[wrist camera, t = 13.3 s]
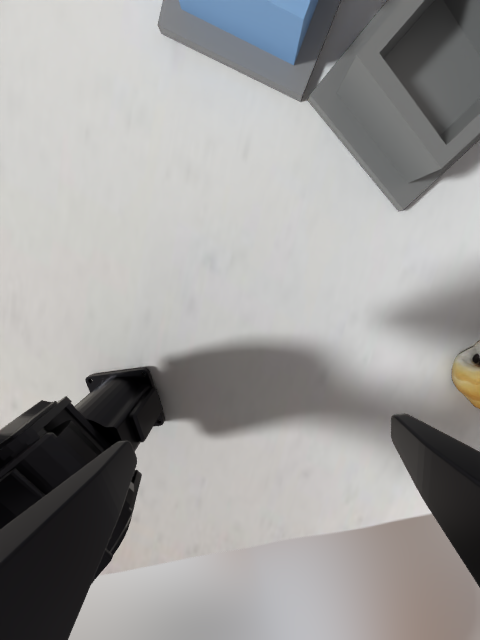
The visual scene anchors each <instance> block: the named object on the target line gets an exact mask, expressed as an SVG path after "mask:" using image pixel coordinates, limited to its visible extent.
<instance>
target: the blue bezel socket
mask: <svg viewBox="0 0 480 640" xmlns="http://www.w3.org/2000/svg"><path fill="white" fill-rule="evenodd" d="M340 1H341V0H163V3H162V7H161V12H160V16H159V21H158V27H159V29H160V32H161V34H163V35H165V36H168V37H170V38H172V39H174V40H176V41H178V42H180V43H182V44H184V45H186V46H188V47H190V48H192V49H194V50H196V51H198V52H200V53H202V54H204V55H206V56H208V57H210V58H212V59H214V60H216V61H218V62H221V63H223V64H225V65H227V66H229V67H231V68H233V69H235V70H237V71H239V72H241V73H243V74H245V75H247V76H249V77H251V78H253V79H255V80H257V81H259V82H261V83H263V84H265V85H267V86H269V87H271V88H274V89H276V90H278V91H280V92H282V93H284V94H286V95H288V96H290V97H292V98H294V99H296V100H298V101H301V99H302V96H303V94H304V91H305V89H306V86H307V84H308V81H309V79H310V76H311V74H312V71H313V69H314V66H315V64H316V61H317V59H318V56H319V54H320V51H321V49H322V46H323V44H324V41H325V39H326V36H327V34H328V31H329V29H330V26H331V24H332V21H333V19H334V16H335V14H336V11H337V9H338V6H339V4H340Z"/></svg>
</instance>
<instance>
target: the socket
mask: <svg viewBox="0 0 480 640" xmlns="http://www.w3.org/2000/svg"><path fill="white" fill-rule="evenodd" d="M308 101H309V103H310V104H311V105H312V106H313V108H314V109H315V110H316V111H317V112H318V114H319V115H320V116H321V117H322V119H323V120H324V121H325V122H326V123H327V125H328V126H329V127H330V128H331V130H332V131H333V132H334V133H335V134H336V136H337V137H338V138H339V139H340V141H341V142H342V143H343V144H344V145H345V147H346V148H347V149H348V150H349V152H350V153H351V154H352V155H353V156H354V158H355V159H356V160H357V161H358V163H359V164H360V165H361V166H362V167H363V169H364V170H365V171H366V172H367V173H368V175H369V176H370V177H371V178H372V180H373V181H374V182H375V183H376V184H377V186H378V187H379V188H380V189H381V191H382V192H383V193H384V194H385V195H386V197H387V198H388V199H389V200H390V202H391V203H392V204H393V205H394V206H395V208H396V209H397V210H398V211H401V210H404V209H405V208H406V207H407V206H408V205H409V204H410V203H411V202H413V201H414V200H415V199H416V198H417V197H418V196H419V195H420V194H421V193H422V192H423V191H424V190H426V189H427V188H428V187H429V186H430V185H431V184H432V183H433V182H434V181H435V180H436V179H437V178H439V177H440V176H441V175H442V174H443V173H444V172H445V171H446V170H447V169H448V168H449V167H450V166H452V165H453V164H454V163H455V162H456V161H457V160H458V159H459V158H460V157H461V156H462V155H463V154H464V153H466V152H467V151H468V150H469V149H470V148H471V147H472V146H473V145H474V144H475V143H476V142H477V141H479V140H480V0H387V2H386V3H385V4H384V5H383V7H382V8H381V9H380V10H379V11H378V13H377V14H376V15H375V16H374V17H373V19H372V20H371V21H370V22H369V24H368V25H367V26H366V27H365V28H364V30H363V31H362V32H361V33H360V34H359V36H358V37H357V38H356V39H355V41H354V42H353V43H352V44H351V45H350V47H349V48H348V49H347V50H346V52H345V53H344V54H343V55H342V56H341V58H340V59H339V60H338V61H337V62H336V64H335V65H334V66H333V67H332V69H331V70H330V71H329V72H328V73H327V75H326V76H325V77H324V78H323V79H322V81H321V82H320V83H319V84H318V86H317V87H316V88H315V89H314V90H313V92H312V93H311V94H310V96H309V99H308Z"/></svg>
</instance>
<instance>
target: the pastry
mask: <svg viewBox="0 0 480 640" xmlns="http://www.w3.org/2000/svg"><path fill="white" fill-rule="evenodd" d="M452 380H453V383H454V384H455V386H456V388H457V389H458V390H459V391H460V392H461V393H463V394H464V396H465V397H466V398H468V399H469V401H470V402H471V403H472V404H473V405H474V406H475V407H477V408H479V409H480V341H478V342H477V343H476V344H475V345H474V346H473V347H472V348H470V349H467V350H465V351H464V352H462V353H460V354H459V355H458V356H457V357H456V358H455V361H454V364H453V367H452Z"/></svg>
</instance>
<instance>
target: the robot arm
mask: <svg viewBox="0 0 480 640" xmlns="http://www.w3.org/2000/svg"><path fill="white" fill-rule="evenodd" d="M142 372H144V373H145V374H146V375H145V374H143V373H142ZM91 379H92V380H93V381H92V380H91ZM86 383H87V386H88V388H89V391H90V393H89V394H88V395H87V396H86V397H85V398H84V399H83V400H81V401H80V402H79V403H78V404H77V405H76V406H75V407H74V406H73V405H72V404H71V403H70V402H72V401H71V400H70V399H69V398H68V397H67V396H66V397H64V398H63V399H61V400H60V401H58V402H56V401H54V402H47V401H40V402H39V403H37V404H36V405H34V406H33V407H32V408H30V409H29V410H27V411H26V412H24V413H23V414H22V415H20V416H19V417H17V418H16V419H15V420H13V421H12V422H10V423H9V424H8V425H6V426H5V427H4V428H2V429H1V430H0V640H68V638H69V636H70V633H71V631H72V628H73V626H74V624H75V621H76V619H77V616H78V614H79V612H80V609H81V607H82V604H83V602H84V600H85V597H86V595H87V593H88V590H89V588H90V585H91V584H92V583H93V581H94V579H96V578H97V576H98V575H99V574H100V573H101V572H102V571H103V569H104V568H105V567H106V566H107V565H108V564H109V562H110V561H111V559H112V557H113V555H114V553H115V552H116V550H117V549H118V547H119V546H120V544H121V542H122V540H123V539H124V537H125V534H126V532H127V530H128V527H129V524H130V521H131V517H132V513H133V509H134V505H135V500H136V496H137V492H138V488H139V484H140V480H141V476H142V474H141V473H140V472H139V471H138V470H135V468H136V464H137V457H136V454H135V450H136V449H137V447H138V445H139V444H140V442H144V441H145V439H146V438H147V436H148V434H149V433H150V431H151V429H152V427H153V426H160V425H162V424H163V423H164V421H165V417H164V414H163V411H162V410H163V408H162V405H161V402H160V399H159V395H158V392H157V389H156V388H155V386H154V383H153V380H152V377H151V374H150V371H149V370H148V369H147V368H137V369H130V370H122V371H115V372H107V373H100V374H92V375H89V376H88V377H87V378H86ZM159 420H161V421H159ZM391 438H392V441H393V444H394V446H395V448H396V449H397V451H398V453H399V455H400V457H401V459H402V461H403V463H404V465H405V467H406V468H407V470H408V472H409V474H410V476H411V478H412V480H413V482H414V484H415V486H416V487H417V489H418V491H419V493H420V495H421V496H422V498H423V500H424V501H425V503H426V505H427V506H428V508H429V509H430V511H431V512H432V514H433V516H434V517H435V518H436V520H437V521H438V523H439V525H440V526H441V528H442V530H443V531H444V532H445V534H446V536H447V537H448V539H449V540H450V542H451V543H452V545H453V547H454V548H455V550H456V551H457V553H458V554H459V556H460V558H461V559H462V561H463V562H464V564H465V565H466V567H467V568H468V570H469V572H470V573H471V575H472V576H473V577H474V579H475V581H476V582H477V584H478V586H479V587H480V452H479V451H477V450H475V449H473V448H471V447H470V446H468V445H466V444H464V443H462V442H460V441H458V440H456V439H454V438H452V437H450V436H448V435H447V434H445V433H443V432H441V431H439V430H437V429H435V428H433V427H431V426H429V425H427V424H426V423H424V422H422V421H420V420H418V419H416V418H414V417H412V416H410V415H408V414H396V415H393V416H392V418H391Z"/></svg>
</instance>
